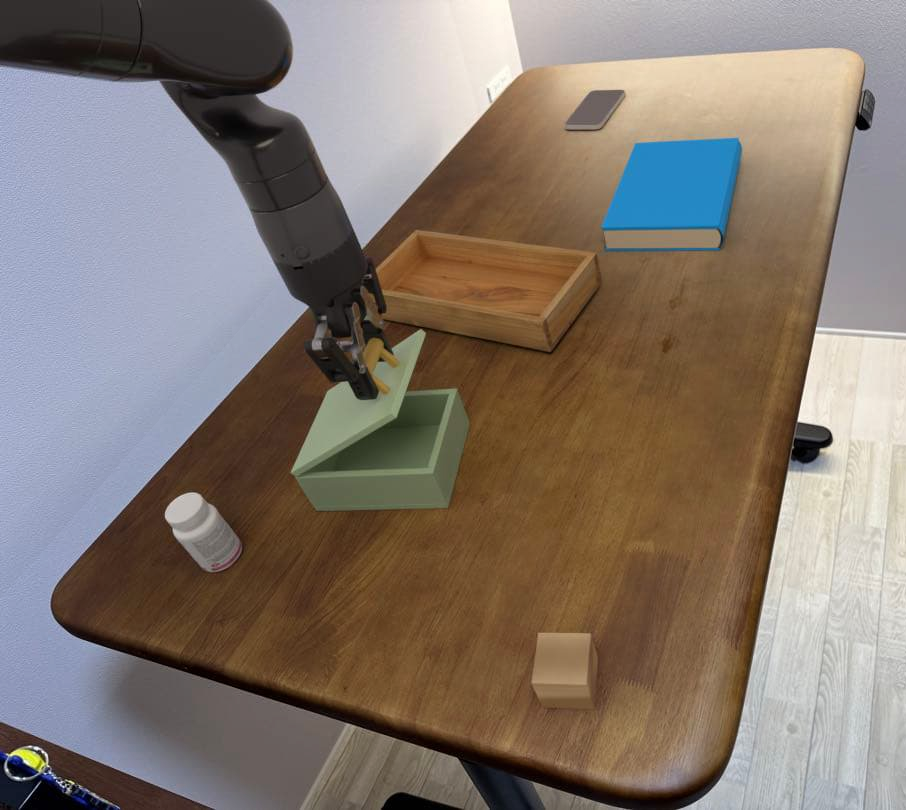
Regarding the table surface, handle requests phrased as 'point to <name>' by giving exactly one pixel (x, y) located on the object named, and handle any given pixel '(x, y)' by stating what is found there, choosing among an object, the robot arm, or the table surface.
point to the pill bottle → (203, 532)
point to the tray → (487, 287)
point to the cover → (361, 403)
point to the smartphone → (595, 109)
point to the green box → (396, 460)
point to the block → (565, 670)
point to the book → (674, 196)
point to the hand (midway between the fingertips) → (376, 377)
